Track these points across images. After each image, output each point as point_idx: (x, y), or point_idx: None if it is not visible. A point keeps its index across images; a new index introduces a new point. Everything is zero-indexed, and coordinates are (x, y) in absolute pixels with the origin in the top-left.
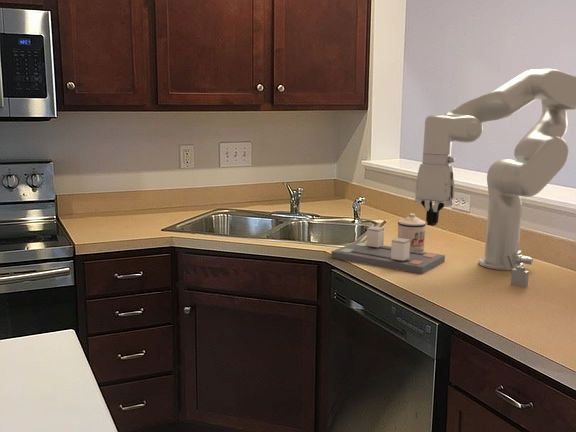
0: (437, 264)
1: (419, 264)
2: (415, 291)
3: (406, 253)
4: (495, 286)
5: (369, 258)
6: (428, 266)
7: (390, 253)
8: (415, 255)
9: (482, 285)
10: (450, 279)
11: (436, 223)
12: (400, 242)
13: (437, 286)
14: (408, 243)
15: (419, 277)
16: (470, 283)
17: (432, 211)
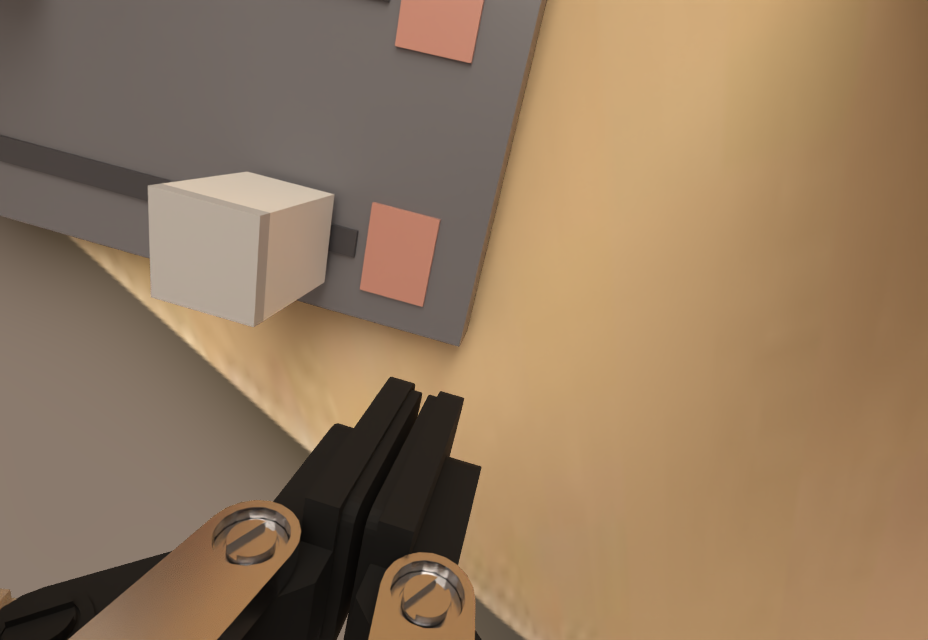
0: (525, 86)
1: (428, 290)
2: (490, 588)
3: (309, 252)
4: (908, 433)
5: (133, 252)
6: (483, 252)
7: (177, 68)
8: (343, 40)
9: (823, 436)
10: (634, 378)
11: (461, 403)
12: (227, 315)
13: (574, 508)
14: (274, 240)
15: (466, 393)
16: (752, 419)
17: (342, 589)
